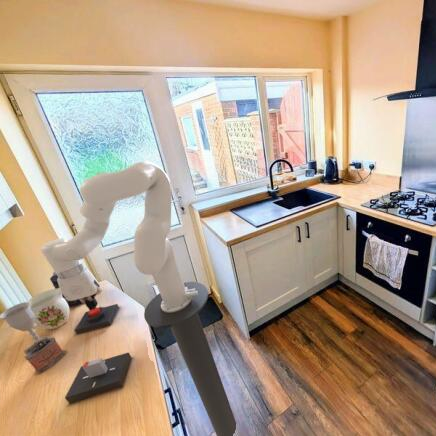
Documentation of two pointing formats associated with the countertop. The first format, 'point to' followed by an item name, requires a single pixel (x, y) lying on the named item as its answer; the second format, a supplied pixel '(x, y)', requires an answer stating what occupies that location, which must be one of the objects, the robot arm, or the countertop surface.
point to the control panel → (100, 379)
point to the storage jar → (56, 285)
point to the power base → (97, 319)
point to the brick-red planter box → (43, 353)
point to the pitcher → (49, 309)
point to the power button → (94, 312)
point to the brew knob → (95, 368)
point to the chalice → (21, 318)
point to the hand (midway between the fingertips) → (94, 307)
